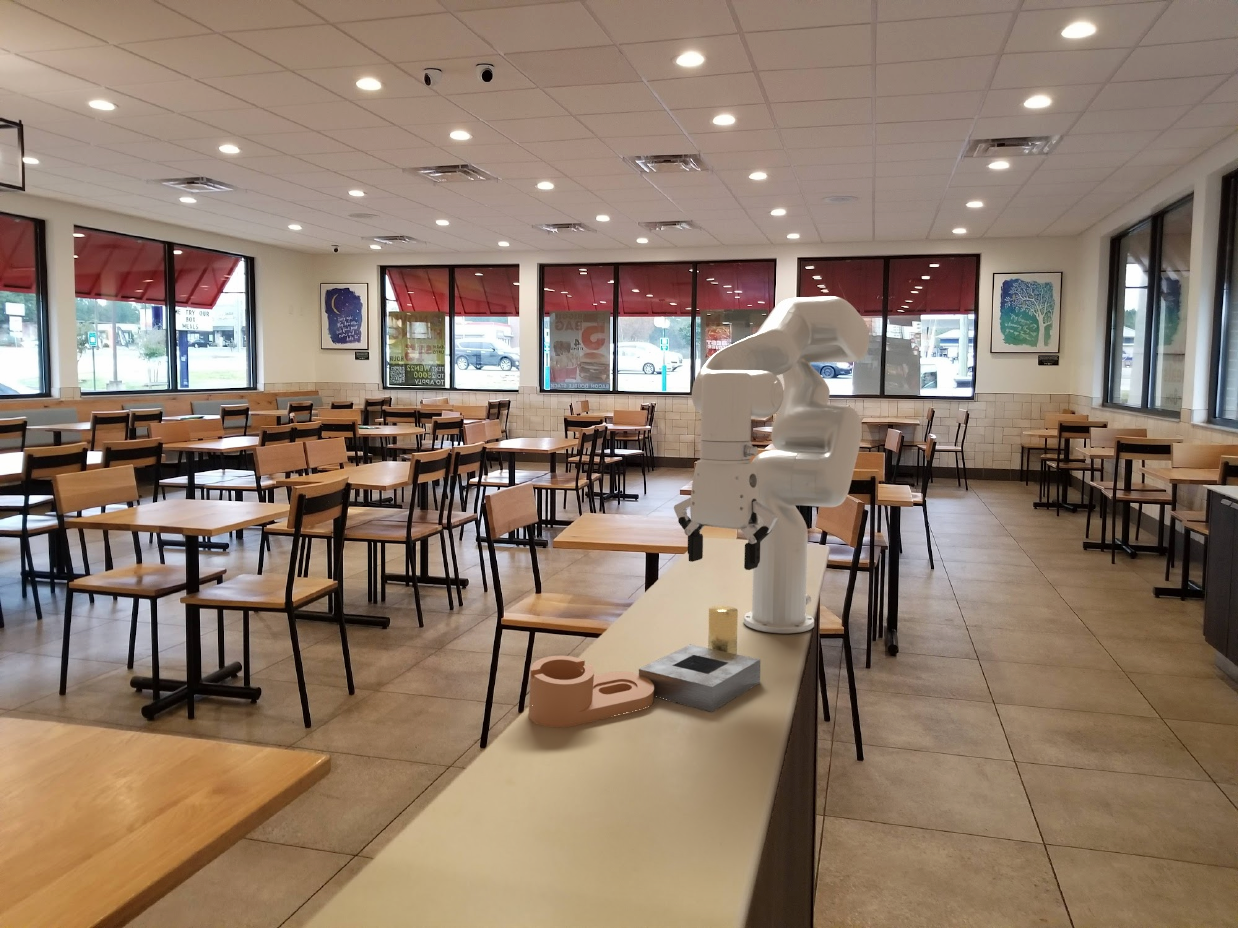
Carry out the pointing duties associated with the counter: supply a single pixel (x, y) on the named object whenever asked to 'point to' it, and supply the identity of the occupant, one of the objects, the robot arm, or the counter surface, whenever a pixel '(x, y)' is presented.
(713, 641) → the gold rounded cylinder
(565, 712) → the bracket
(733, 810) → the counter surface
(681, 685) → the plate
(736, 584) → the counter surface
